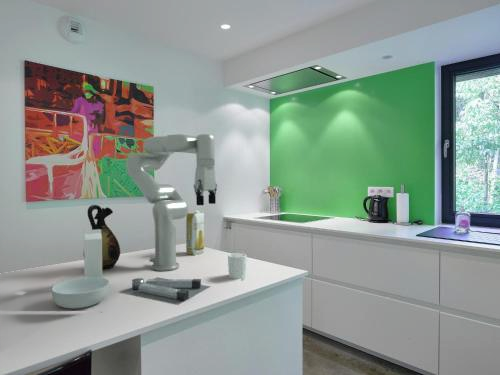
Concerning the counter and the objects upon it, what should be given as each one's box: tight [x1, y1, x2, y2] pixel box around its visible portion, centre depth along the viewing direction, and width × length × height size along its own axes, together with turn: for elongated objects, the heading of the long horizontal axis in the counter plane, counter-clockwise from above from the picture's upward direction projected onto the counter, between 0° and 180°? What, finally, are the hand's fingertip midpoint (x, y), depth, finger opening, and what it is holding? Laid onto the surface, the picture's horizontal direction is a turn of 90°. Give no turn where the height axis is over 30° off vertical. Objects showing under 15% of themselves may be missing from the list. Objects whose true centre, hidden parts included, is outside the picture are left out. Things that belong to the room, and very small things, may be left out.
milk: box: [83, 229, 103, 278], centre depth 126 cm, size 6×6×22 cm
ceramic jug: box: [83, 204, 121, 271], centre depth 148 cm, size 17×15×30 cm
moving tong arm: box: [131, 277, 202, 290], centre depth 121 cm, size 25×5×3 cm, turn 90°
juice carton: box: [185, 210, 205, 256], centre depth 182 cm, size 9×8×24 cm
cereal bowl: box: [51, 277, 111, 310], centre depth 107 cm, size 17×17×7 cm
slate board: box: [119, 277, 211, 306], centre depth 120 cm, size 26×20×1 cm
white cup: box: [227, 252, 248, 281], centre depth 137 cm, size 8×8×10 cm
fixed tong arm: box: [139, 283, 189, 302], centre depth 114 cm, size 20×3×3 cm, turn 65°
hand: (206, 204), depth 138 cm, fingers open, 9 cm apart
